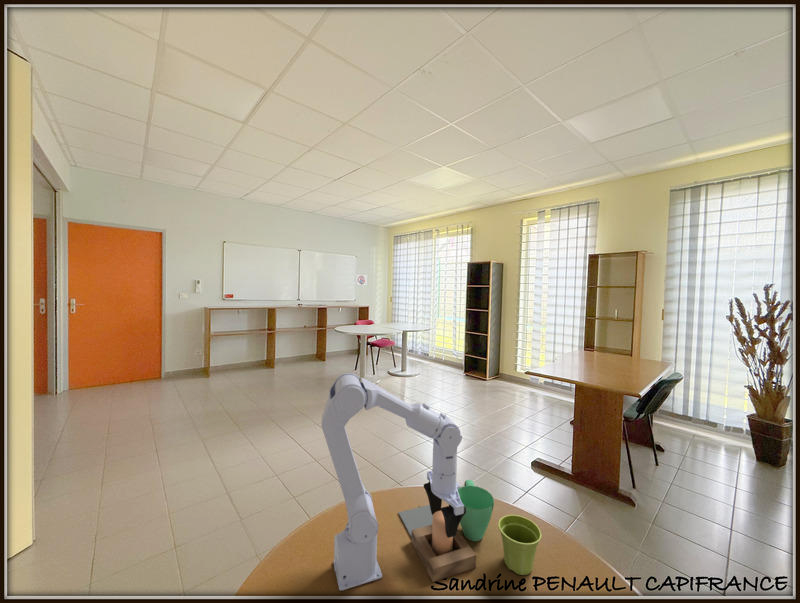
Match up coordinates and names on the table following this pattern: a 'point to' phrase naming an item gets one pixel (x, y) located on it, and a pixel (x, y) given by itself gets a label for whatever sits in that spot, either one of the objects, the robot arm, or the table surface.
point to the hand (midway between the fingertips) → (443, 524)
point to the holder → (444, 563)
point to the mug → (475, 510)
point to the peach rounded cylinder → (440, 535)
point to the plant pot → (519, 542)
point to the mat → (416, 518)
